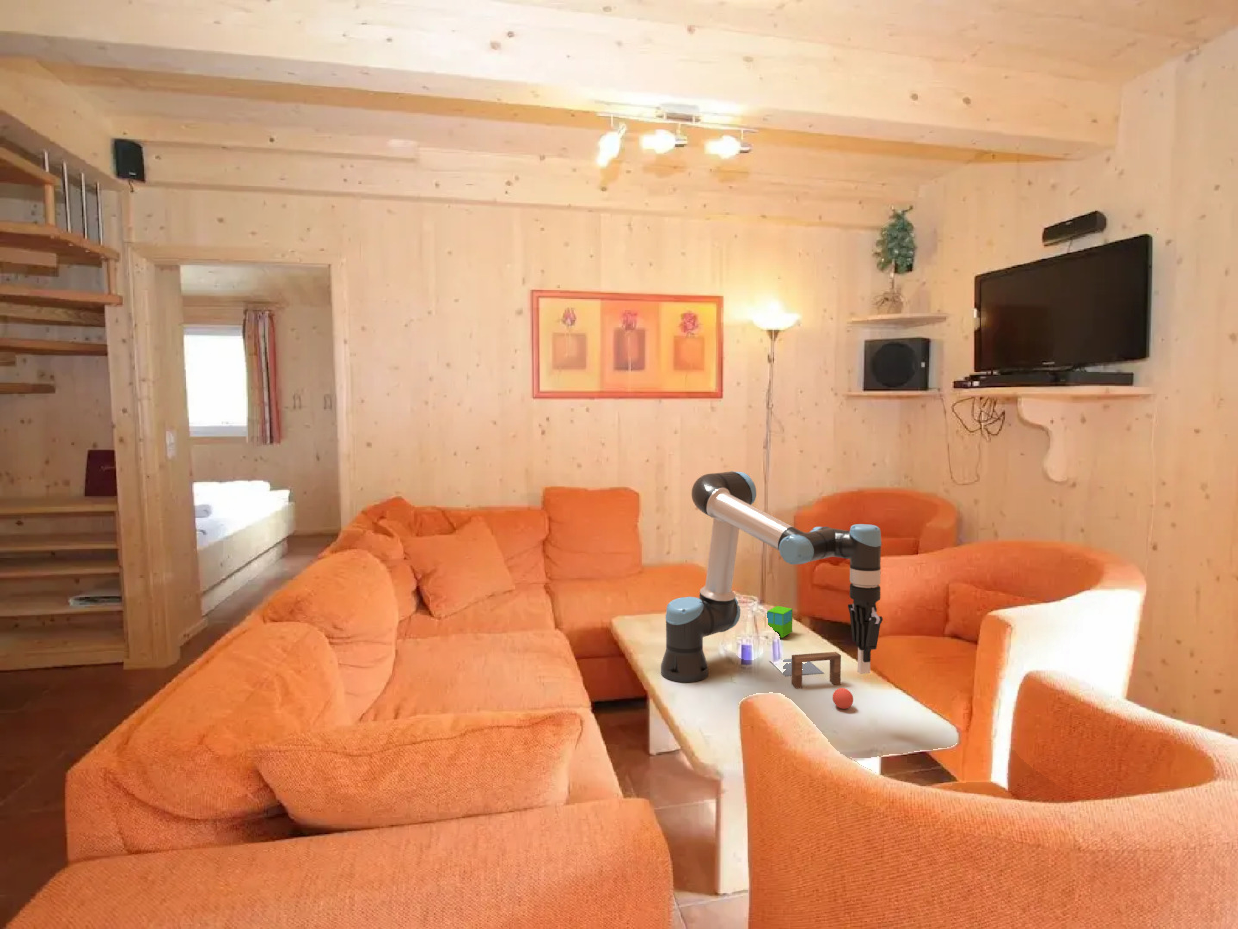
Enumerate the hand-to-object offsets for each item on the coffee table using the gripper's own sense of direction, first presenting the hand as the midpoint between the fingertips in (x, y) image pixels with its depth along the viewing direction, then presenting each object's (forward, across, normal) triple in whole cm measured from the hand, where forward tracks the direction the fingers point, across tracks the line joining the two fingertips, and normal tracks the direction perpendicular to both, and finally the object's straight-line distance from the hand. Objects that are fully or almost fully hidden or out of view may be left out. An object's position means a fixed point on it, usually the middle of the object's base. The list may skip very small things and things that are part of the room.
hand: (863, 672), depth 169 cm
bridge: (+14, +26, 0) cm, 30 cm away
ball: (+12, +10, 0) cm, 15 cm away
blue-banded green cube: (+14, +72, -5) cm, 74 cm away
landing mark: (+14, +40, 0) cm, 43 cm away
